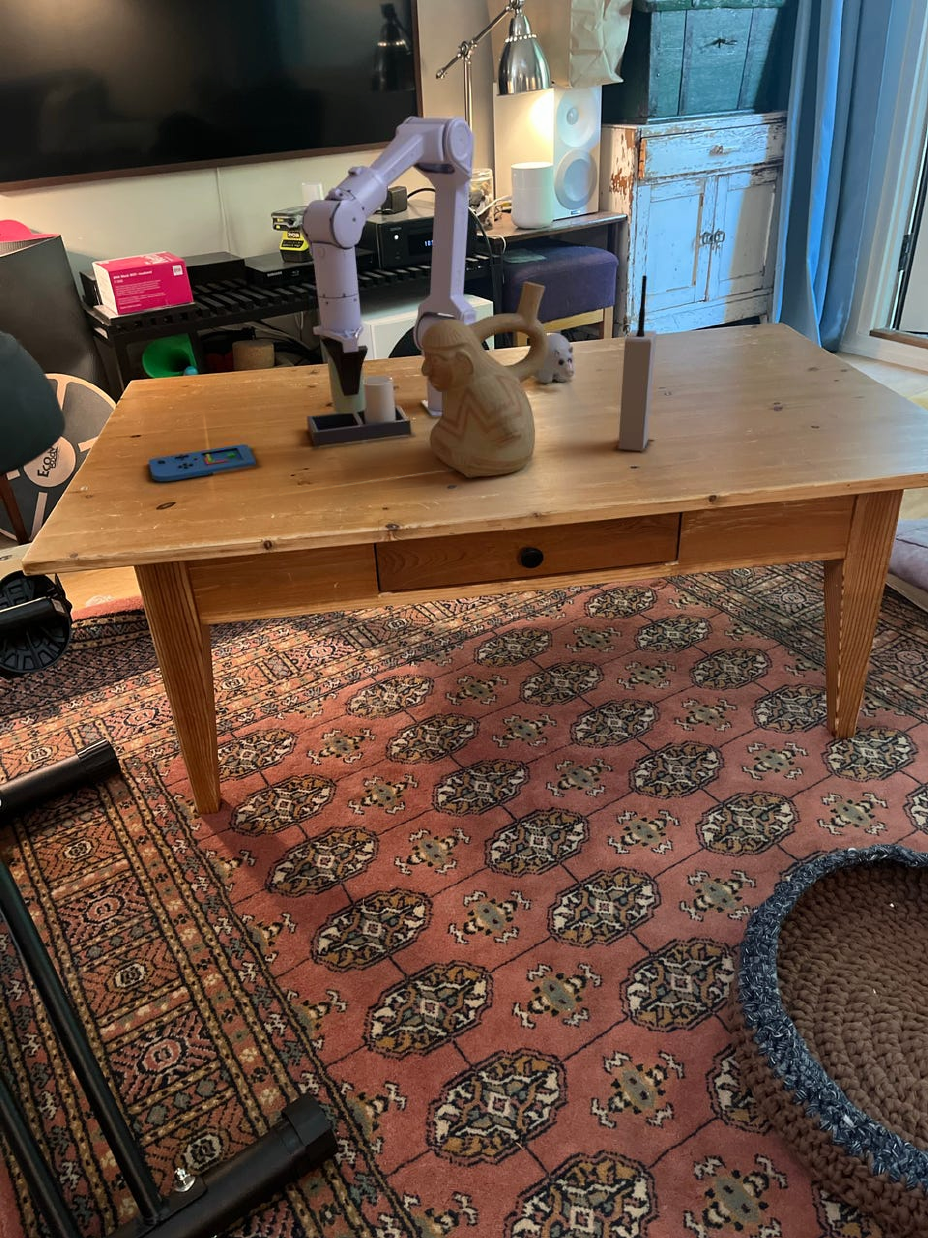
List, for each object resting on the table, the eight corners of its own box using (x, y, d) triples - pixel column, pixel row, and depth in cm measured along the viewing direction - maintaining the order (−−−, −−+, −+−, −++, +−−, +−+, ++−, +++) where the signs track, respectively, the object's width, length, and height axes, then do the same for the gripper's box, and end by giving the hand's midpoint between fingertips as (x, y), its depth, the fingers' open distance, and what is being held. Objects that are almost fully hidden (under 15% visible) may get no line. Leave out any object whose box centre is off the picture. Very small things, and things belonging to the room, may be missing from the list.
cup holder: (400, 420, 152) (399, 404, 150) (411, 436, 145) (410, 420, 143) (308, 432, 148) (306, 416, 147) (315, 449, 142) (313, 432, 140)
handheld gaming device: (147, 457, 137) (246, 441, 142) (149, 464, 138) (247, 448, 142) (152, 476, 131) (255, 459, 135) (154, 483, 131) (256, 466, 136)
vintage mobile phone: (648, 440, 140) (661, 270, 127) (642, 452, 136) (656, 278, 123) (624, 438, 141) (635, 270, 128) (618, 449, 137) (628, 277, 124)
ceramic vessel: (406, 456, 138) (394, 285, 125) (520, 433, 144) (521, 269, 131) (450, 496, 125) (442, 310, 111) (574, 470, 131) (580, 290, 118)
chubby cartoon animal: (548, 395, 160) (549, 347, 156) (526, 376, 170) (526, 330, 165) (586, 391, 162) (588, 342, 157) (562, 372, 171) (563, 326, 167)
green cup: (363, 400, 138) (358, 347, 134) (369, 411, 134) (364, 356, 130) (330, 404, 137) (324, 351, 133) (335, 415, 133) (329, 360, 129)
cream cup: (392, 421, 150) (389, 373, 145) (399, 431, 146) (395, 382, 141) (363, 425, 149) (358, 377, 144) (369, 435, 144) (364, 386, 140)
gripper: (303, 285, 132) (314, 378, 139) (317, 307, 120) (328, 407, 127) (350, 281, 133) (359, 372, 141) (369, 302, 122) (377, 401, 129)
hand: (347, 388), depth 134 cm, fingers closed on green cup, 5 cm apart
